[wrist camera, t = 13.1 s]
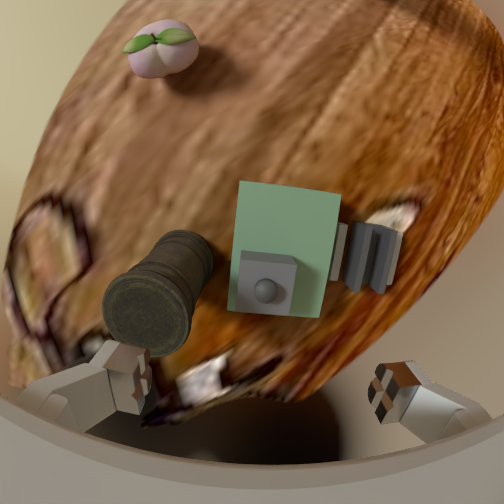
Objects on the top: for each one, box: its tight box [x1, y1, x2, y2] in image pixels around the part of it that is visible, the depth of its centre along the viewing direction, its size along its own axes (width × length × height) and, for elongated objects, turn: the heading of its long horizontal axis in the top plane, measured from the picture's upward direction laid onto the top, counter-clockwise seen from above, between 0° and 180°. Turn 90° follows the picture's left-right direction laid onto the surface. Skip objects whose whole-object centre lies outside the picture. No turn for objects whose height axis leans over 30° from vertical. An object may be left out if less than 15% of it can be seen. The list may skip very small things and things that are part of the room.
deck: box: [227, 180, 403, 318], centre depth 35 cm, size 16×24×11 cm, turn 84°
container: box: [102, 230, 213, 357], centre depth 31 cm, size 9×9×18 cm
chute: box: [342, 221, 398, 294], centre depth 38 cm, size 5×9×5 cm, turn 174°
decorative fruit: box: [122, 19, 199, 79], centre depth 28 cm, size 9×8×10 cm
